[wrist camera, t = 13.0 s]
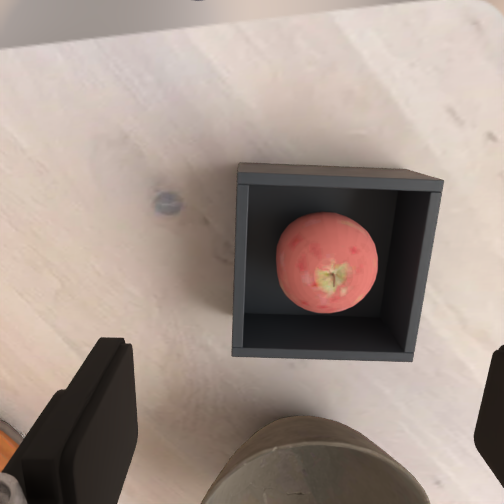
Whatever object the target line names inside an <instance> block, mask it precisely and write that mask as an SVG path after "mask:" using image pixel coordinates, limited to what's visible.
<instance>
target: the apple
mask: <svg viewBox="0 0 504 504" xmlns="http://www.w3.org/2000/svg"><path fill="white" fill-rule="evenodd" d="M276 266H277V275H278V280H279V284H280V287H281V288H282V290H283V292H284V293H285V295H286V296H287V297H288V298H289V299H290V300H291V301H292V302H294V303H295V304H296V305H298V306H300V307H302V308H304V309H306V310H309V311H312V312H316V313H333V312H339V311H343V310H345V309H348V308H350V307H353V306H354V305H355V304H357V303H358V302H359V301H361V300H362V299H363V298H364V297H365V295H366V294H367V293H368V292H369V291H370V289H371V287H372V285H373V283H374V281H375V279H376V275H377V270H378V256H377V252H376V247H375V244H374V242H373V240H372V238H371V237H370V235H369V233H368V232H367V231H366V230H365V229H364V228H363V227H362V226H361V225H359V224H358V223H357V222H355V221H354V220H352V219H350V218H348V217H346V216H343V215H340V214H337V213H334V212H316V213H310V214H307V215H304V216H301V217H299V218H297V219H296V220H295V221H293V222H292V223H290V224H289V225H288V226H287V228H286V229H285V230H284V232H283V233H282V234H281V236H280V239H279V242H278V244H277V250H276Z"/></svg>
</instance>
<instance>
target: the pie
mask: <svg viewBox="0 0 504 504" xmlns="http://www.w3.org/2000/svg"><path fill="white" fill-rule="evenodd" d="M22 441H23V438H22V436H21V435H20V434H19V433H18V432H17V431H16V430H14V429H13V428H12V427H11V426H10V425H9V424H7V423H5V422H4V421H2V420H0V472H2V470H3V469H4V467H5V466H6V464H7V463H8V461H9V460H10V458H11V457H12V455H13V454H14V453H15V451H16V450H17V448H18V447H19V445H20V444H21V442H22Z"/></svg>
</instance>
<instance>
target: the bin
mask: <svg viewBox="0 0 504 504" xmlns="http://www.w3.org/2000/svg"><path fill="white" fill-rule="evenodd" d="M443 184H444V180H441V179H438V178H434V177H431V176H428V175H424V174H421V173H417V172H414V171H410V170H407V169H388V168H364V167H339V166H315V165H290V164H266V163H241V162H240V163H239V166H238V171H237V194H236V226H235V259H234V292H233V325H232V357H260V358H294V359H327V360H360V361H394V362H413V357H414V351H415V345H416V339H417V334H418V328H419V322H420V316H421V311H422V305H423V299H424V293H425V288H426V282H427V276H428V270H429V265H430V259H431V253H432V247H433V242H434V236H435V230H436V225H437V219H438V213H439V207H440V202H441V196H442V190H443ZM316 212H334V213H337V214H340V215H343V216H346V217H348V218H350V219H352V220H354V221H355V222H357V223H358V224H359V225H361V226H362V227H363V228H364V229H365V230H366V231H367V232H368V233H369V235H370V237H371V238H372V240H373V242H374V244H375V247H376V252H377V256H378V270H377V275H376V279H375V281H374V283H373V285H372V287H371V289H370V291H369V292H368V293H367V294H366V295H365V297H364V298H363V299H362V300H361V301H359V302H358V303H357V304H355V305H354V306H353V307H350V308H348V309H345V310H343V311H339V312H333V313H316V312H312V311H309V310H306V309H304V308H302V307H300V306H298V305H296V304H295V303H294V302H292V301H291V300H290V299H289V298H288V297H287V296H286V295H285V293H284V292H283V290H282V288H281V287H280V284H279V280H278V275H277V266H276V250H277V244H278V242H279V239H280V236H281V234H282V233H283V232H284V230H285V229H286V228H287V226H288V225H289V224H290V223H292V222H293V221H295V220H296V219H297V218H299V217H301V216H304V215H307V214H310V213H316Z"/></svg>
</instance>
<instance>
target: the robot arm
mask: <svg viewBox="0 0 504 504" xmlns="http://www.w3.org/2000/svg"><path fill="white" fill-rule="evenodd" d="M137 438H138V423H137V408H136V393H135V378H134V362H133V348H132V345H131V344H125V340H124V338H105V337H102V338H100V339H99V340H98V341H97V343H96V344H95V346H94V347H93V349H92V350H91V352H90V353H89V355H88V356H87V358H86V360H85V361H84V363H83V364H82V366H81V367H80V369H79V370H78V372H77V373H76V375H75V376H74V378H73V379H72V381H71V383H70V384H69V386H68V387H67V389H66V390H59V391H57V392H56V393H55V394H54V395H53V397H52V398H51V400H50V401H49V403H48V404H47V406H46V407H45V409H44V410H43V412H42V413H41V415H40V416H39V417H38V419H37V420H36V422H35V423H34V425H33V426H32V428H31V429H30V431H29V432H28V434H27V435H26V436H25V438H24V439H23V441H22V442H21V444H20V445H19V447H18V448H17V450H16V451H15V453H14V454H13V455H12V457H11V458H10V460H9V461H8V463H7V464H6V466H5V467H4V469H3V470H2V472H0V504H117V502H118V499H119V496H120V493H121V490H122V487H123V484H124V481H125V478H126V475H127V472H128V469H129V466H130V463H131V460H132V457H133V454H134V451H135V448H136V444H137ZM474 443H475V446H476V448H477V450H478V452H479V453H480V455H481V456H482V457H483V459H484V460H485V462H486V463H487V465H488V466H489V467H490V469H491V470H492V472H493V473H494V475H495V476H496V478H497V479H498V480H499V482H500V483H501V485H502V486H503V488H504V345H502V346H501V347H500V348H499V350H496V351H495V352H494V353H493V355H492V359H491V364H490V368H489V372H488V376H487V381H486V385H485V389H484V393H483V398H482V402H481V406H480V410H479V415H478V419H477V423H476V428H475V432H474Z"/></svg>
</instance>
